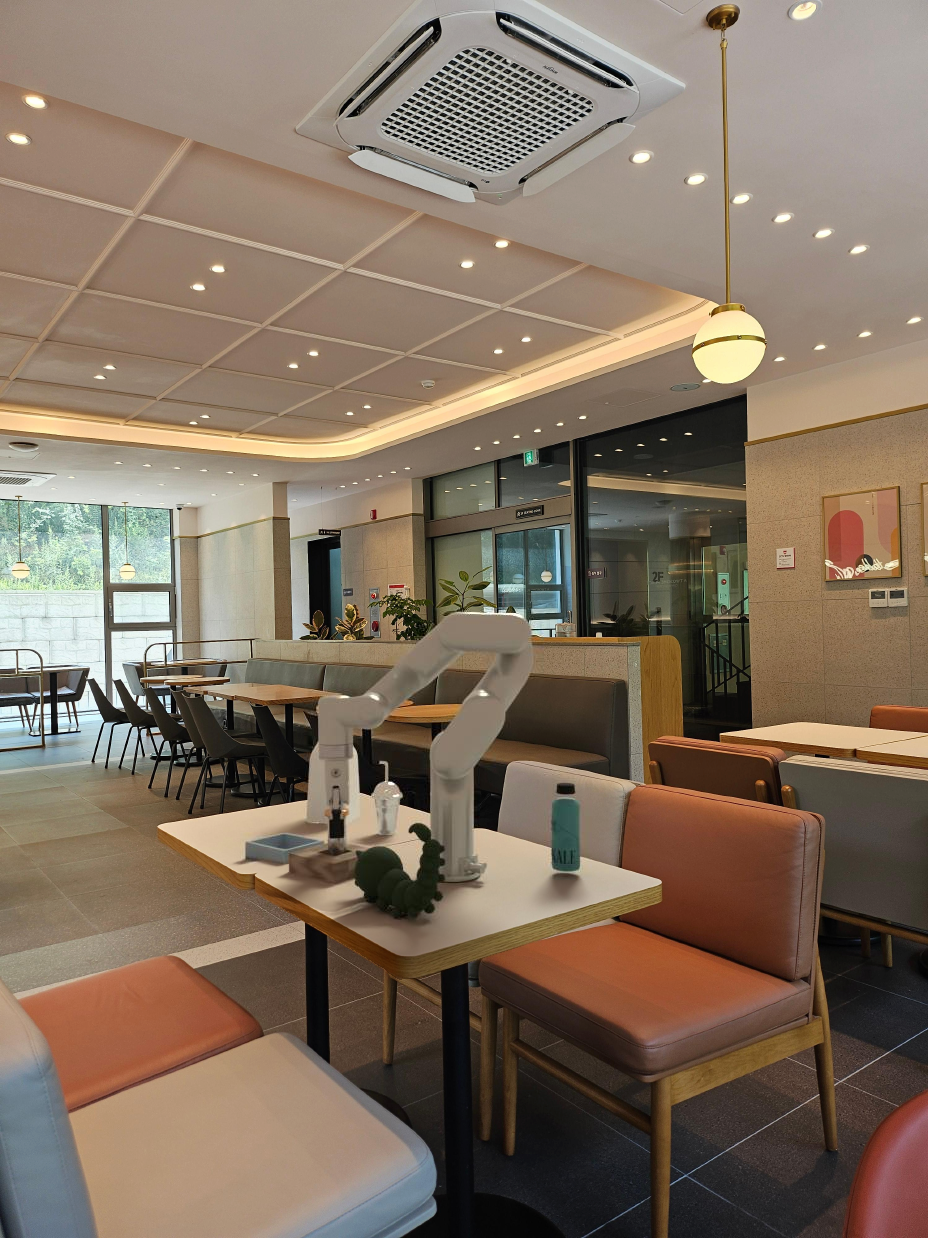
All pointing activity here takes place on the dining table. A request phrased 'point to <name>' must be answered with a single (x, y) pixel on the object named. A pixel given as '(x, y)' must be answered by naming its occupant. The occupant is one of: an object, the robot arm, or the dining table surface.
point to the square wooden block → (324, 863)
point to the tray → (278, 847)
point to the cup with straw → (386, 804)
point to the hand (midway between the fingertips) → (337, 834)
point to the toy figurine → (401, 877)
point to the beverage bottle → (565, 830)
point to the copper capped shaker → (338, 844)
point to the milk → (318, 794)
